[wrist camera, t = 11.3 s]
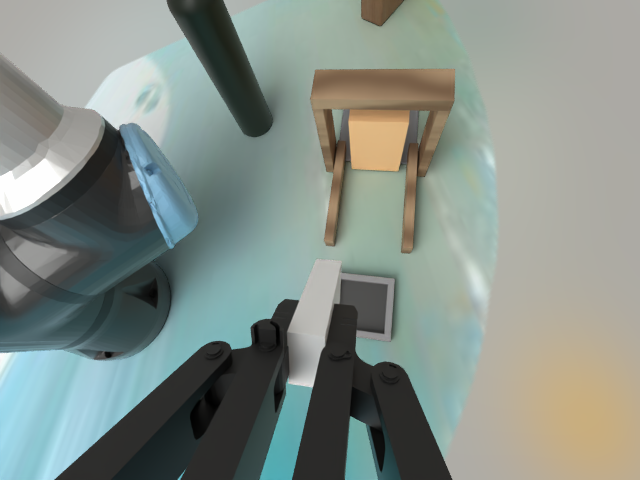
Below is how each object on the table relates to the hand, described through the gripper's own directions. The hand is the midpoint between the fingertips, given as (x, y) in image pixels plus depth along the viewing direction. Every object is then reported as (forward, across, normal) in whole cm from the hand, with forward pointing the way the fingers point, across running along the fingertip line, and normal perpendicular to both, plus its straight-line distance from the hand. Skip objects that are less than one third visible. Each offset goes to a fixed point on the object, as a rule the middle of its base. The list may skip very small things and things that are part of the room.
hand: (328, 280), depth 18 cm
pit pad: (+19, +2, -15) cm, 24 cm away
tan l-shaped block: (+36, +3, +6) cm, 36 cm away
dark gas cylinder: (+38, -18, +8) cm, 43 cm away
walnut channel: (+29, +3, -2) cm, 29 cm away
